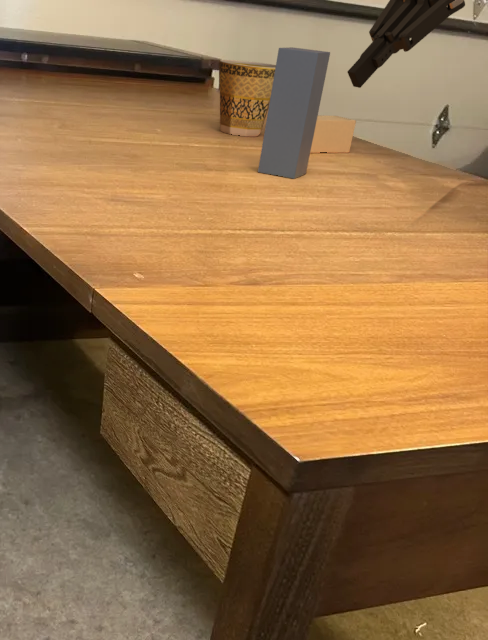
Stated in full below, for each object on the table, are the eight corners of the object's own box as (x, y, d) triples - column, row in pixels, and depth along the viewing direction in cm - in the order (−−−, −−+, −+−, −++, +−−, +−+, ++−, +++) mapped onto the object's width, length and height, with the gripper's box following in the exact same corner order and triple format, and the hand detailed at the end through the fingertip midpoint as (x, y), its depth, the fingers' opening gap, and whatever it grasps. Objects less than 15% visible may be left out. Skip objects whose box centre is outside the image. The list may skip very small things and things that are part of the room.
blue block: (270, 167, 110) (291, 47, 102) (306, 174, 108) (330, 52, 100) (257, 172, 106) (278, 47, 98) (294, 179, 104) (318, 52, 97)
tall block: (336, 115, 128) (276, 114, 122) (356, 120, 124) (295, 119, 119) (329, 147, 130) (270, 147, 125) (349, 152, 127) (289, 153, 122)
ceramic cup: (267, 141, 130) (279, 69, 124) (205, 132, 131) (214, 61, 126) (275, 130, 140) (286, 64, 135) (218, 123, 142) (227, 57, 136)
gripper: (506, -19, 119) (392, 106, 121) (438, -23, 128) (333, 93, 130) (494, -68, 114) (376, 64, 116) (424, -68, 123) (315, 53, 125)
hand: (353, 79), depth 123 cm, fingers closed
